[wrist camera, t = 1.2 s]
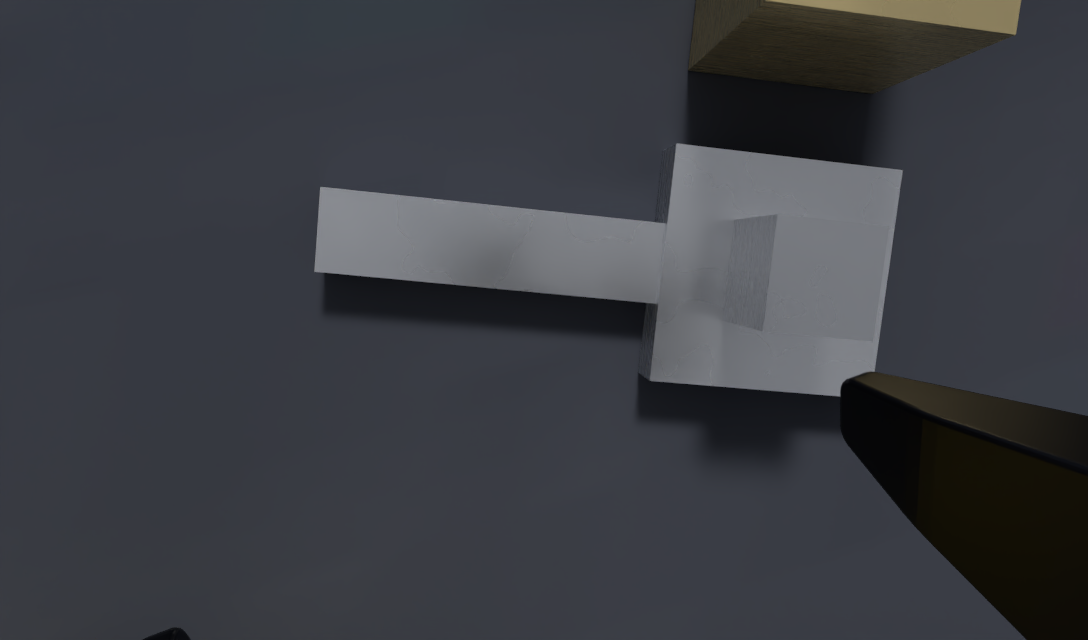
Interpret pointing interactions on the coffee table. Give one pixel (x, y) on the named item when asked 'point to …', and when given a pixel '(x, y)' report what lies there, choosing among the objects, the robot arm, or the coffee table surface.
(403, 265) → the hammer
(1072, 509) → the robot arm
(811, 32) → the brushed brass cube
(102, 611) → the coffee table surface
